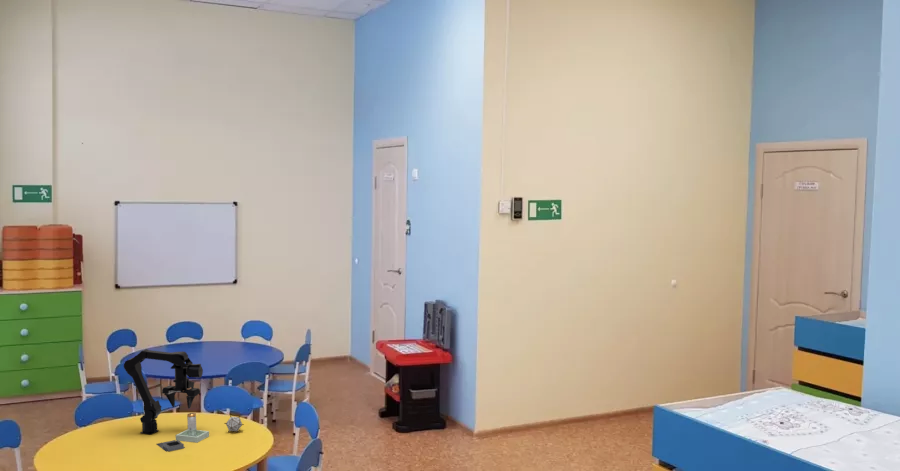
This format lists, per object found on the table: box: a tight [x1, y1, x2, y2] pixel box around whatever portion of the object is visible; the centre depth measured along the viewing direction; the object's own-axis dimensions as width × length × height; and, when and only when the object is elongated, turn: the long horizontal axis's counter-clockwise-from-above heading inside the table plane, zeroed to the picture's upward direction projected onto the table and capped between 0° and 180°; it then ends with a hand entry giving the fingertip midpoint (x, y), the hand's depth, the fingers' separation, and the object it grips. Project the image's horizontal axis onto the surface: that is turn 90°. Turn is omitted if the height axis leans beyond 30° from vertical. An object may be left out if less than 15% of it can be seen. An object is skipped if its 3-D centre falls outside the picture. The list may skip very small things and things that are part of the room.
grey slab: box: [155, 439, 186, 452], centre depth 362 cm, size 15×9×3 cm, turn 40°
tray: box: [175, 428, 210, 443], centre depth 373 cm, size 12×10×4 cm
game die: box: [224, 415, 245, 433], centre depth 387 cm, size 9×8×10 cm
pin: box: [187, 412, 197, 437], centre depth 373 cm, size 4×4×12 cm
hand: (181, 407), depth 384 cm, fingers open, 9 cm apart
